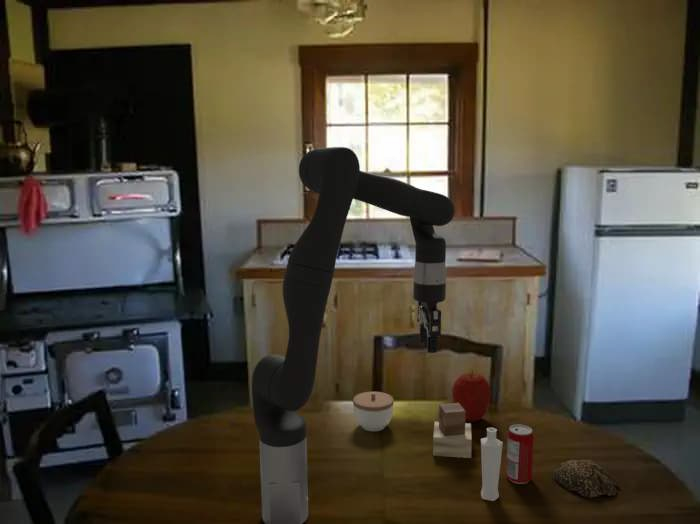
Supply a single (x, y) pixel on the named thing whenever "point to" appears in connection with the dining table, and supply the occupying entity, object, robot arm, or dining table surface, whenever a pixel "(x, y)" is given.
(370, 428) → the lidded jar
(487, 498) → the perfume bottle
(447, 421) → the walnut block
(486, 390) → the apple
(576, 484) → the bread roll
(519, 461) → the soda can
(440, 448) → the birch block
